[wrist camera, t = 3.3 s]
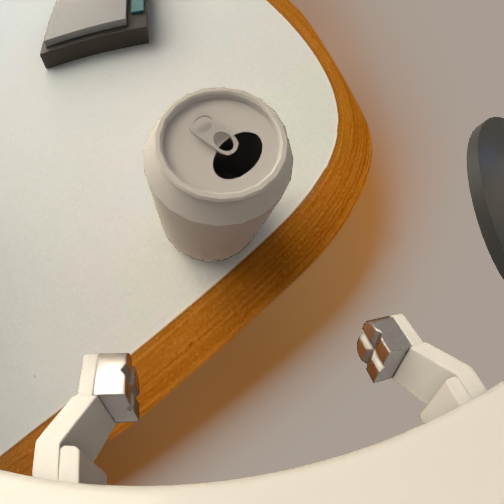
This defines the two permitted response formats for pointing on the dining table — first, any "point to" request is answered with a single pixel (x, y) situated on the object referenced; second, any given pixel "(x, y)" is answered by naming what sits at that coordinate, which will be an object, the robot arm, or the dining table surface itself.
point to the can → (216, 170)
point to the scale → (93, 28)
